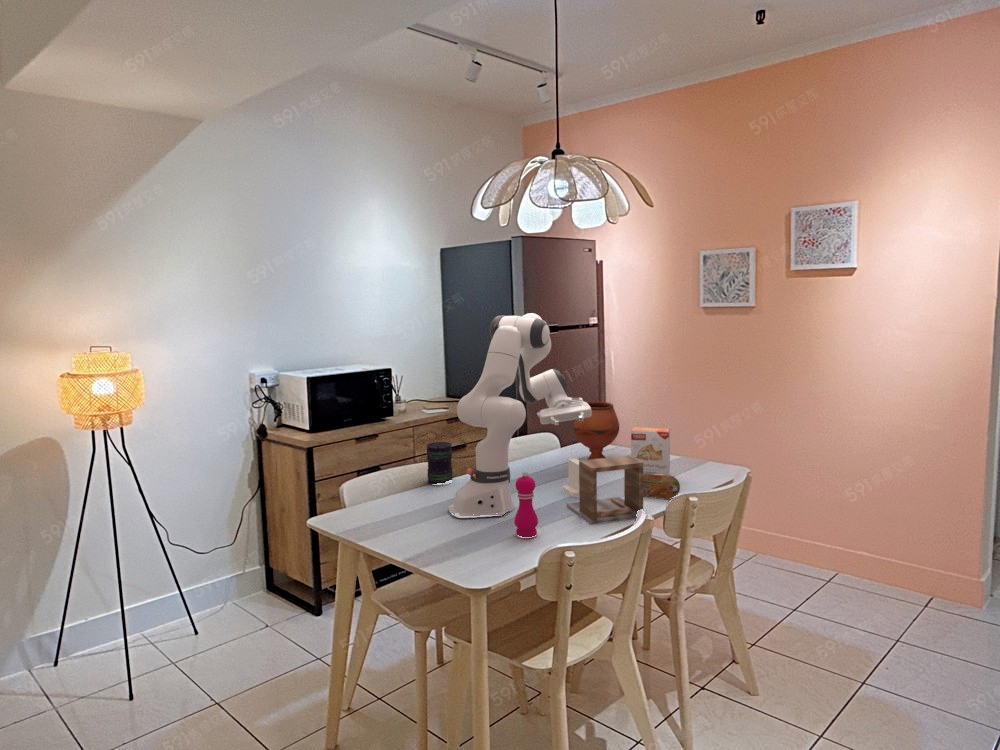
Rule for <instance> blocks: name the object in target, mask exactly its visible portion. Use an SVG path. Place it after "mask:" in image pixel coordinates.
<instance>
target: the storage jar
mask: <svg viewBox="0 0 1000 750" xmlns="http://www.w3.org/2000/svg"><path fill="white" fill-rule="evenodd" d="M452 458H453V450H452V443H451V442H447V441H436V442H435V441H434V442H430V443H427V444H426V459H427V480H428V481H427V484H428V485H430V486H433V485H432V484H437V483H445V482H446V481H449V480H453V477H454V476H453V475H454V472H453V467H452V466H453V465H452V463H453V462H452Z"/></svg>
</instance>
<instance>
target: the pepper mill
mask: <svg viewBox="0 0 1000 750" xmlns="http://www.w3.org/2000/svg"><path fill="white" fill-rule="evenodd" d="M521 475H522V476H519V478H517V479H516V481H515V489H516V490H517V494H516V495H517V496H516V497H517V498H518V501H519V502H518V504H519V505H518V508H517V511H516V513H515V515H514V521H513V522H514V525H515V527H516V530H515V535H516V534H517V535H519V536H522V537H532V536H535V535H536V534H537V535H538V533H537V532H538V531H537V528H536V527H537V526H538V524H539V519H538V514H537V513H536V511H535V509H534V505H533V499H534V496H535V495H534V494H535V492H534V491H535V488H536V482H535V479H534V478H533V477H532V476H530V475H529V473H528V472H527V471H526V470H525V471H523V472H522V474H521Z"/></svg>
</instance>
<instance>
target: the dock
mask: <svg viewBox="0 0 1000 750" xmlns="http://www.w3.org/2000/svg"><path fill="white" fill-rule="evenodd" d="M621 470H623V471H624V472H623V473H624V475H623V476H624V477H623V480H624V481H623V482H624V486H623V487H624V489H623V490H624V494H623V495H624V497H623V498H622V497H621V496H617V497H616V496H615V497H608V498H607V497H606V498H601V499H598V492H597V490H598V489H597V488H598V487H597V484H598V483H597V477H598V476H597V474H598V473H603V472H611V471H612V472H614V471H621ZM578 497H579V501H578V502H576V501H575V502H569V503H566V507H567V508H568V509H569V510H570V511H572V512H573V513H575V514H576V515H577V516H579V517H580V518H581V519H582V520H584V521H585V522H586V523H588V524H589V525H597V524H604V523H610V522H617V521H624V520H625V521H626V520H631V519H636V518H635V517H636V514H637V511H638V510H640V509H643V510H644V496H643V462H641V461H639V460H637V459H635V458H633V457H631V455H621V456H612V457H611V456H610V457H605V458H600V459H591V460H587V459H584V460H583V459H582V460H580V461H579V496H578Z"/></svg>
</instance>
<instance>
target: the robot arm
mask: <svg viewBox="0 0 1000 750" xmlns="http://www.w3.org/2000/svg"><path fill="white" fill-rule="evenodd" d="M550 333H551V329H550V325H549V324H548V323H547V322H546V320H543V319H542V317H541V316H540V315H538V314H536V313H534V312H531V313H525V314H524V315H505V314H504V315H497V316H495V317H494V318H493V319H492V320H491V322H490V324H489V336H490V338H491V341H490V344H489V346H488V347H489V348H488V351H487V353H486V359H485V363H484V366H483V370H482V373H481V376H480V378H479V379H478V381H477V383H476V385H475V386H474V387H473V388H472V389H471V390H470V391H469V392H468V393H467V394H466V395H464V396H462V397H461V398H460V400H459V401H458V403H457V406H456V414H457V417H458V419H459V421H460V422H462V423H463V424H466V425H469V426H472V427H479V428H484V429H487V432H486V433H487V434H486V437H485V438H483V439H482V440H480V441H479V442H478V443H477V444H476V446H475V448H474V449H475V468H474V469H472V468H470V467H469V468H467V470H466V474H467V475H468V476H470V480H468V482H466V483H465V484H464V485H463V486H461V487H460V488H459V489H457V491H456V493H455V496H454V502H453V503H451V504H452V505H450V504H449V505H448V507H447V509H448V508H449V511H451V513H453V514H454V515H455V513H459V515H460V516H480V515H503V514H505V513H506V512H508V511H510V510H512V509H513V508H514V509H515V504H514V502H513V497H512V494H511V486H510V485H511V469H510V467H509V448H510V443H511V439H512V437H513V436H514V434H515V432H516V431H517V430H519V429H520V428H521V427H522V426H523V424H524V423H525V421H526V417H527V415H526V414H527V412H526V408H525V405H524V403H523V402H522V401H521V400H517V399H515V398H512V397H508V396H500V394H501V393H502V392H503V391H504V390H505V389H507V388H509V387H510V386H512V385H513V384H514V383H515V380H516V375H517V373H518V382H519V383H518V385H519V386H518V388H519V394H520V398H521V399H522V400H523V401H524V402H525V403H527V404H532V405H533V404H535V403H536V402H538V401H540V400H543V399H545V402H546V405H547V407H548V408H543V409H542V408H541V410H539V411H538V412H536V415H537V417H538V418H539V421H540V425H549V424H552V425H554V426H560V423H562V422H567V421H574V420H576V419H579V421H580V422H581V421H584V420H583V419H584V418H588V417H591V416H592V411H591V407H590V406H589V405H588V404H587V402H586V401H584V400H583V398H582V397H570V396H568V395H567V392H568V384H567V382H566V379H565V378H564V376H563V375H562V373H561V372H560V371H559V370H557V369H555V368H551V369H548V370H546V371H543V372H542V373H539V374H537V375H534V376H530V375H531V374H530V371H531V370H532V368H533V367H534V366H536V365H537V364H539V363H540V362H541V361H542V360H544V359H545V358H546V357H547V356H548V355H549V353H550V352H551V350H552V340H551V336H550V335H551V334H550ZM449 506H454V507H449ZM514 509H513V510H514ZM513 510H512V511H513ZM510 512H511V511H510ZM496 513H498V514H496ZM508 513H509V512H508ZM473 514H474V515H473ZM506 514H507V513H506ZM506 514H505V515H506Z"/></svg>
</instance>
